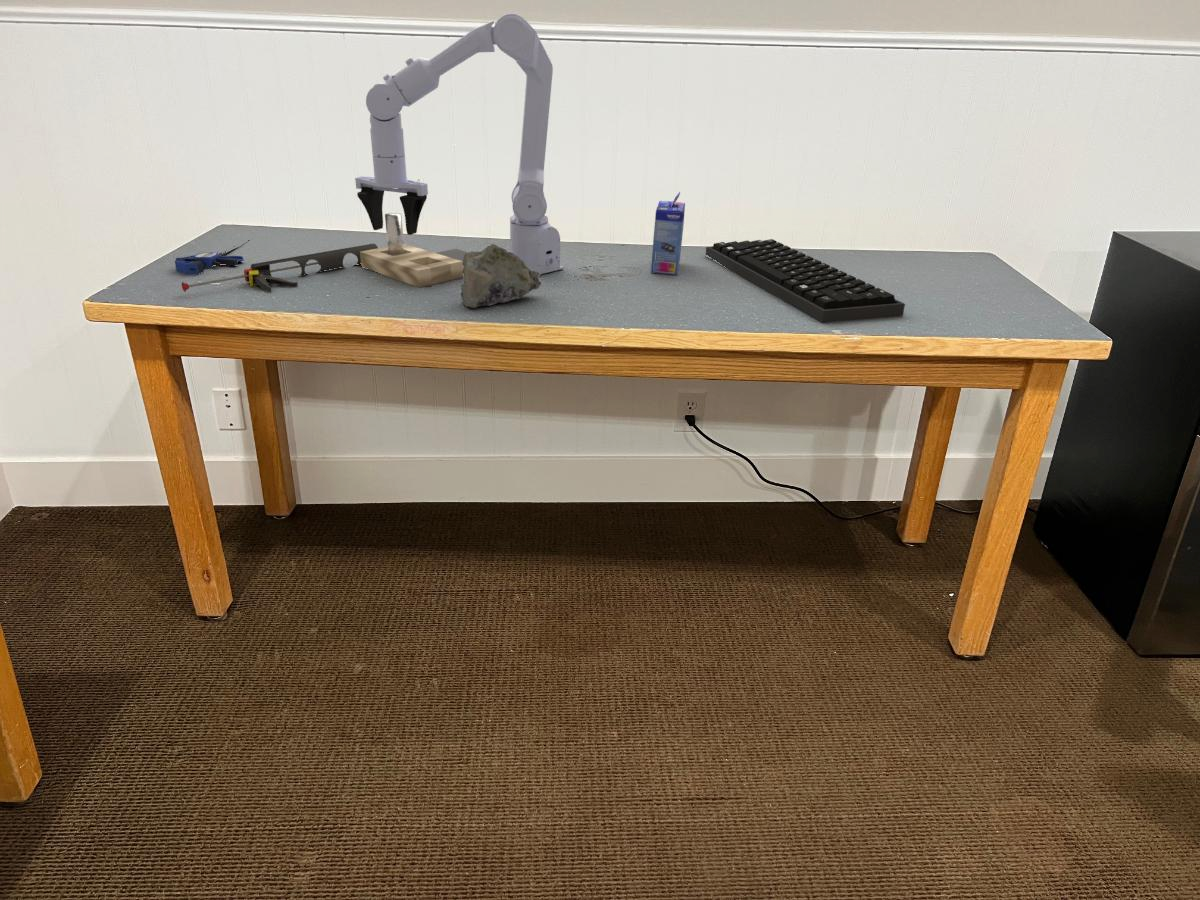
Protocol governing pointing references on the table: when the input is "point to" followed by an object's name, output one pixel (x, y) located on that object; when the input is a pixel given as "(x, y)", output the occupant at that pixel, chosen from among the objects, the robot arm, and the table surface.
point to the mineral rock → (495, 277)
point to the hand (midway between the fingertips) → (394, 231)
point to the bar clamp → (204, 262)
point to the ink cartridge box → (668, 237)
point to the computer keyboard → (805, 281)
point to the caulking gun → (292, 267)
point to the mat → (453, 254)
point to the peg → (394, 234)
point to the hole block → (413, 265)
